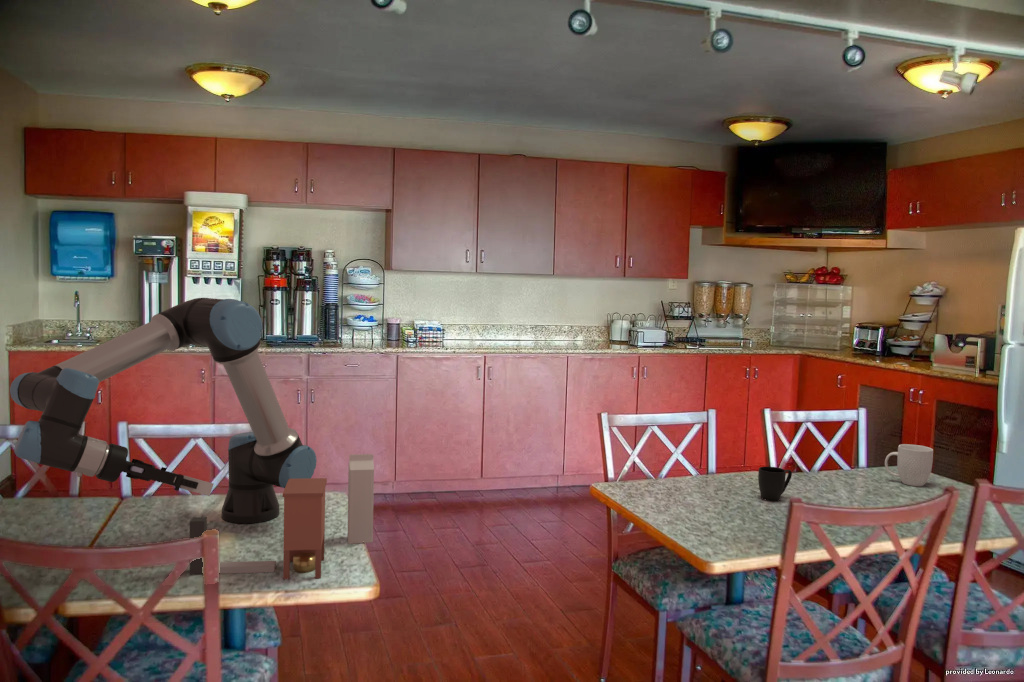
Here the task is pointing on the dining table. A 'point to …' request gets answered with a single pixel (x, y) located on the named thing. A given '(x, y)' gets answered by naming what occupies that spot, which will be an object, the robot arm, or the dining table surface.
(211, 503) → the dining table surface
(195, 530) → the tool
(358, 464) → the milk
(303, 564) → the token
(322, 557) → the cabinet
